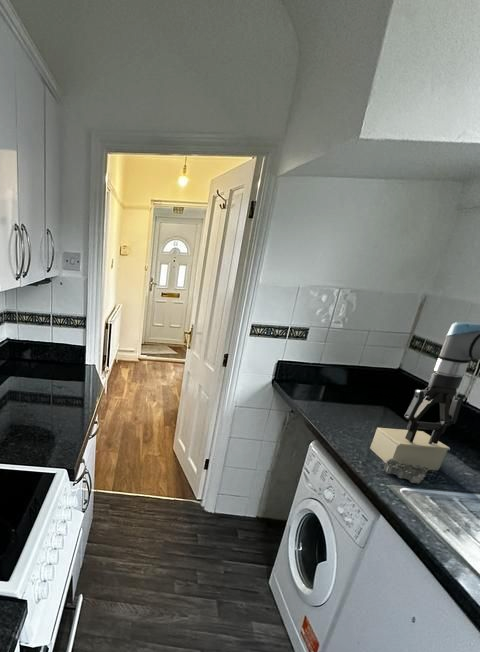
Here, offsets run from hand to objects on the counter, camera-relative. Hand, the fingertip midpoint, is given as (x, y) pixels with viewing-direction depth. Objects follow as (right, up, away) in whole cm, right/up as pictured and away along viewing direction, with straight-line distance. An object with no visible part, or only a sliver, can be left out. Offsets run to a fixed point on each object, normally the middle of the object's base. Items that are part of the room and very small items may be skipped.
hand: (420, 441), depth 137 cm
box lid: (0, 0, +5) cm, 5 cm away
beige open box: (0, -7, +8) cm, 11 cm away
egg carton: (-8, -11, -3) cm, 14 cm away
